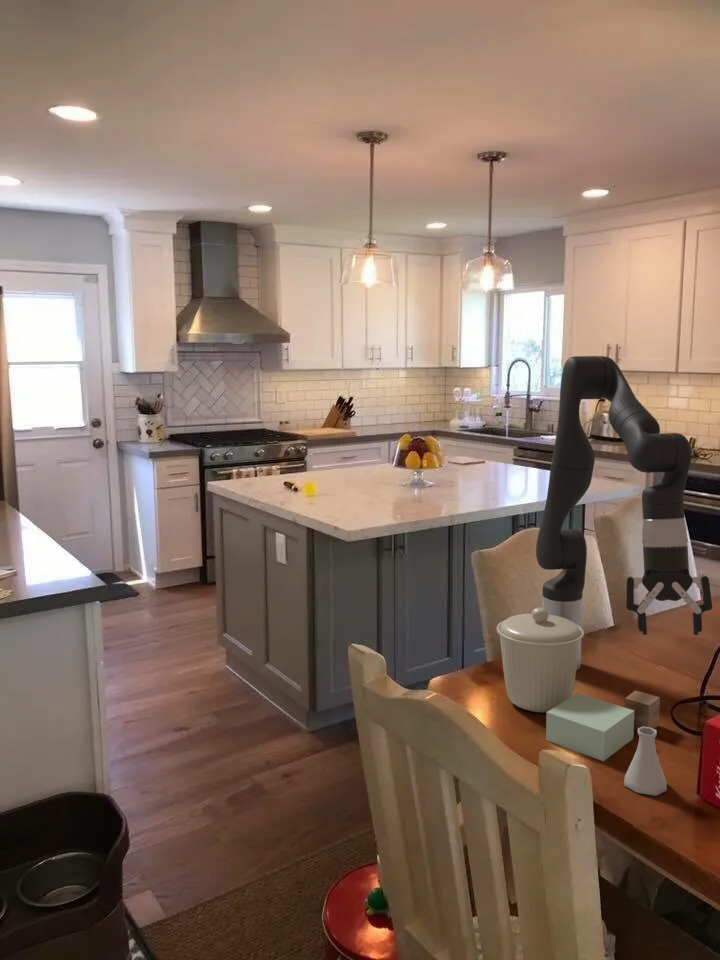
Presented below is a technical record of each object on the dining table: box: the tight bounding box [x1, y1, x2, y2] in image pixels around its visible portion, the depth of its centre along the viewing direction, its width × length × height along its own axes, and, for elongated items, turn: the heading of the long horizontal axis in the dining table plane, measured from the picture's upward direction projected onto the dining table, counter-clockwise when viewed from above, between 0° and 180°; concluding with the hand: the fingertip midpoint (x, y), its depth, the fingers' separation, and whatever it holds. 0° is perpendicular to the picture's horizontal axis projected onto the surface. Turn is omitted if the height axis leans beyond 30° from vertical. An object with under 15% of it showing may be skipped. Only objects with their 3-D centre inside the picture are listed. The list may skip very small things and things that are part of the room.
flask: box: [623, 727, 668, 797], centre depth 134 cm, size 7×7×10 cm
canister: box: [496, 607, 585, 714], centre depth 166 cm, size 18×18×21 cm
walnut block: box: [623, 690, 661, 732], centre depth 156 cm, size 5×5×6 cm
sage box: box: [545, 692, 635, 762], centre depth 151 cm, size 12×12×6 cm
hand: (669, 634), depth 140 cm, fingers open, 8 cm apart
